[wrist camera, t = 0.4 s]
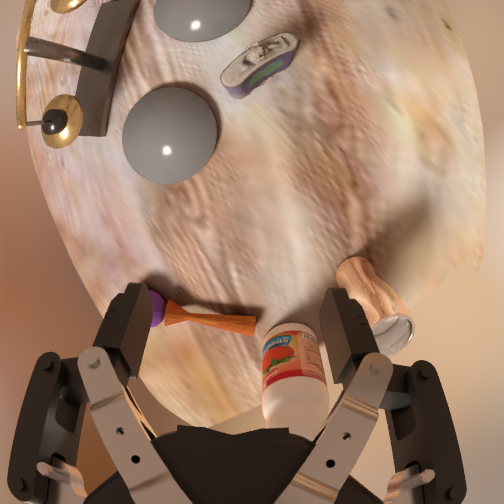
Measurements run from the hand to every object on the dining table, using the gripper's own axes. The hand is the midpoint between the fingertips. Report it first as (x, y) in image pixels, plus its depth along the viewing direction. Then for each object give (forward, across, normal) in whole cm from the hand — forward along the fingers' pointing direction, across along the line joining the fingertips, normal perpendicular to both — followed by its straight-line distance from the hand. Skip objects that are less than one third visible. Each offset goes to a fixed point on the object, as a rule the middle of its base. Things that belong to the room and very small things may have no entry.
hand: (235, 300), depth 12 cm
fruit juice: (+20, -9, +30) cm, 37 cm away
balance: (+30, +21, -13) cm, 39 cm away
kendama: (+22, +7, +25) cm, 34 cm away
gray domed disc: (+31, +6, -21) cm, 38 cm away
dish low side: (+27, +10, -2) cm, 29 cm away
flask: (+28, -2, -10) cm, 30 cm away
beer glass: (+22, -18, +17) cm, 33 cm away
